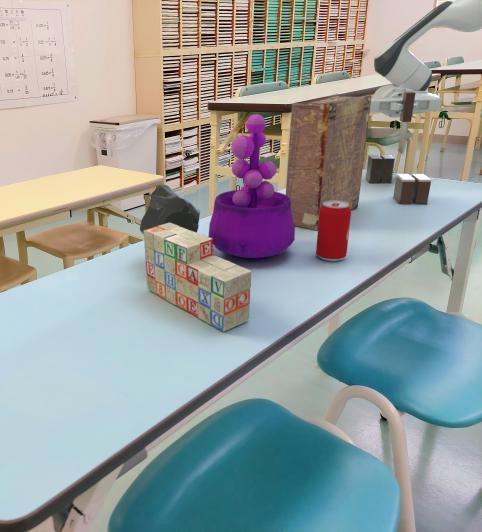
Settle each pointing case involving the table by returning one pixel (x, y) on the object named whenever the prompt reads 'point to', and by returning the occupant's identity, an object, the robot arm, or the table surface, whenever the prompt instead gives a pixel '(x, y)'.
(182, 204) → the dark grey faceted rock
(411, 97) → the knife
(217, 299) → the stack of blocks
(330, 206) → the beverage can
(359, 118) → the book
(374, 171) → the knife holder
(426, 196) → the brown wooden cube
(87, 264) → the table surface
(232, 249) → the decorative plant
